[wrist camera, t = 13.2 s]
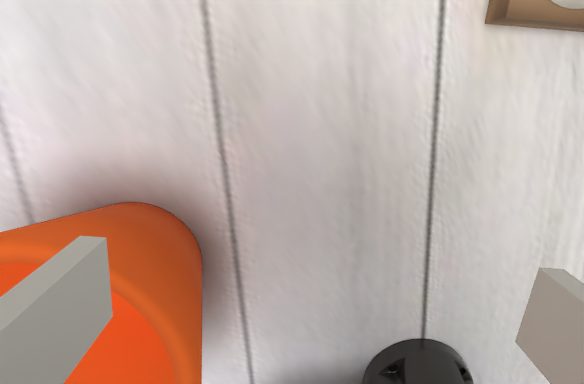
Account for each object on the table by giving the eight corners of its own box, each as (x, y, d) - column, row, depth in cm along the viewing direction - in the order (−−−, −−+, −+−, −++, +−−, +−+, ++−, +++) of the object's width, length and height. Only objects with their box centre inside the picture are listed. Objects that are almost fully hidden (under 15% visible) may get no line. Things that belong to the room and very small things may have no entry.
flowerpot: (104, 361, 52) (0, 523, 34) (1, 209, 45) (-205, 305, 26) (266, 307, 50) (251, 449, 31) (183, 135, 42) (99, 185, 24)
